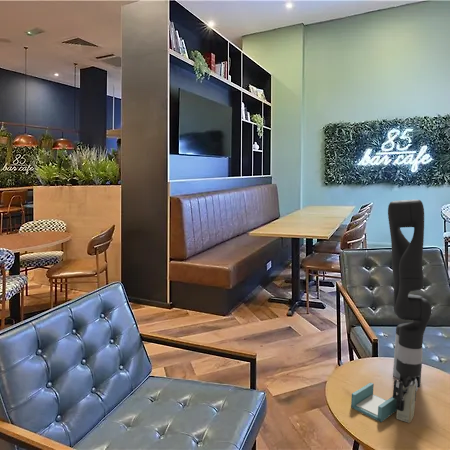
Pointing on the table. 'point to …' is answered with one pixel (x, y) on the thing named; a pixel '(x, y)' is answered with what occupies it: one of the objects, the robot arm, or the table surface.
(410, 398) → the skincare box
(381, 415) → the u rest
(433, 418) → the table surface
